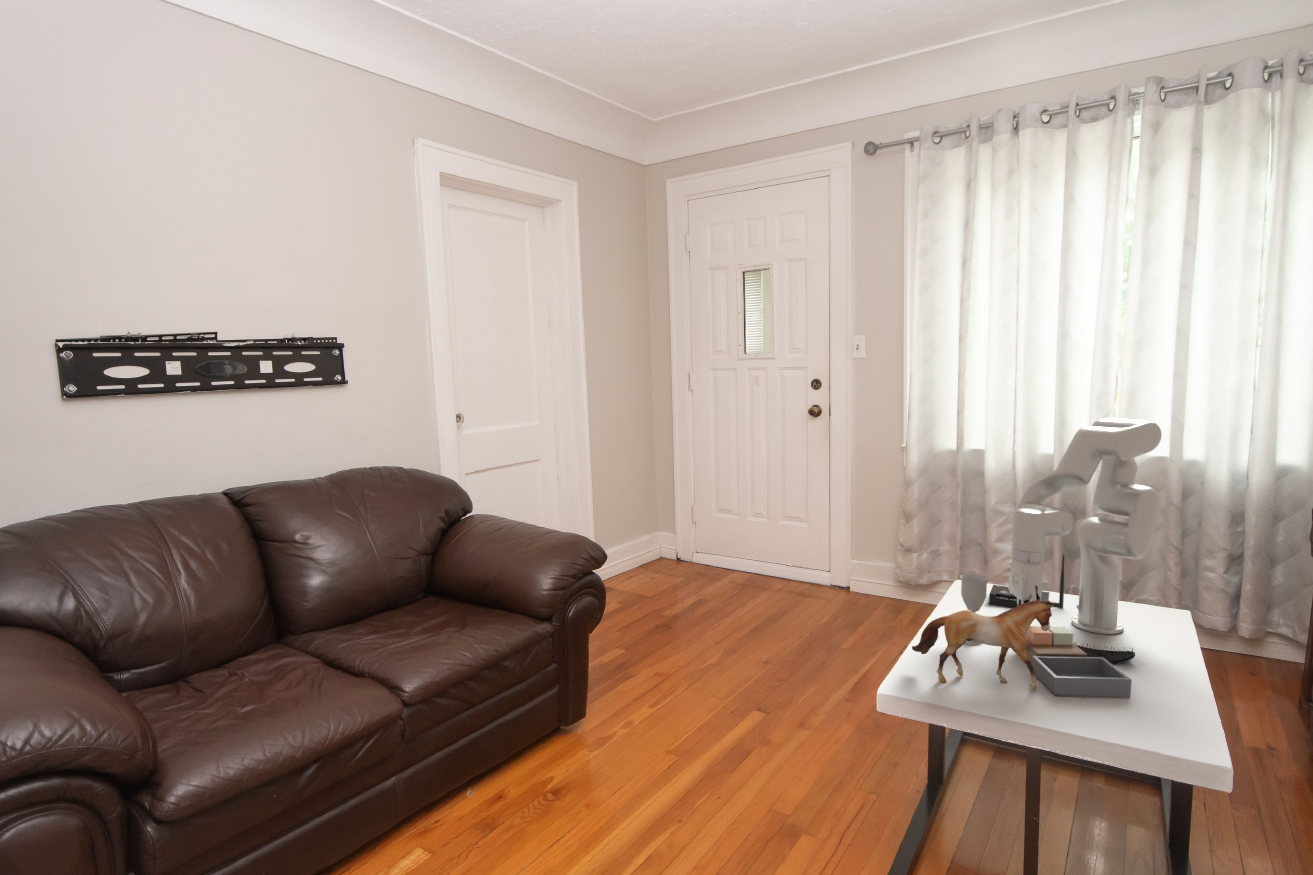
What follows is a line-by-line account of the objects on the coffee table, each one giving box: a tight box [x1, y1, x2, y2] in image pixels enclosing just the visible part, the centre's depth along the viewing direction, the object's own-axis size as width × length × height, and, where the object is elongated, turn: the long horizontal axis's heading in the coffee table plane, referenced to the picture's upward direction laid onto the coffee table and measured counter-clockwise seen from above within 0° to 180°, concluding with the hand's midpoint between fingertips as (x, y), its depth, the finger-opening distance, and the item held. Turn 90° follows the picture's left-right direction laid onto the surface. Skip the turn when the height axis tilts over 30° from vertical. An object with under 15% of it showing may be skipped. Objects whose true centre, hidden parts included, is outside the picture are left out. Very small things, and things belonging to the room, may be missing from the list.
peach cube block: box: [1027, 625, 1052, 645], centre depth 180 cm, size 4×4×3 cm
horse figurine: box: [911, 600, 1055, 692], centre depth 168 cm, size 31×8×21 cm, turn 72°
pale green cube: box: [1048, 626, 1074, 645], centre depth 180 cm, size 4×4×3 cm
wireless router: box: [988, 554, 1066, 609], centre depth 220 cm, size 20×14×17 cm
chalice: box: [959, 573, 990, 646], centre depth 192 cm, size 7×7×18 cm
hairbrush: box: [1074, 641, 1136, 665], centre depth 185 cm, size 8×4×25 cm
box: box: [1032, 656, 1132, 699], centre depth 166 cm, size 12×16×4 cm
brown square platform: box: [1025, 640, 1087, 663], centre depth 178 cm, size 12×12×5 cm
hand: (1024, 622), depth 188 cm, fingers closed
